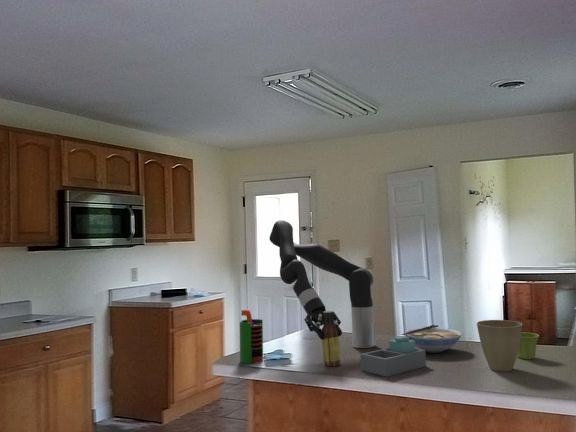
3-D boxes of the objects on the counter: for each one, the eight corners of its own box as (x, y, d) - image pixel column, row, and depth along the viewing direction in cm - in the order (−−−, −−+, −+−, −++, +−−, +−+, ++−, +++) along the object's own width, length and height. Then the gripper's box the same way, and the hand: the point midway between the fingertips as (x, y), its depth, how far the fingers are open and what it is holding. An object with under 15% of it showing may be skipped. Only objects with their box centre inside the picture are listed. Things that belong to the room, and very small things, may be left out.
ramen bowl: (440, 360, 207) (439, 338, 207) (391, 352, 224) (391, 332, 225) (475, 349, 224) (474, 329, 224) (427, 342, 241) (426, 323, 241)
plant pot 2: (540, 355, 209) (539, 332, 210) (540, 361, 201) (538, 337, 201) (513, 354, 213) (512, 331, 214) (512, 359, 205) (511, 336, 205)
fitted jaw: (400, 359, 205) (400, 335, 206) (415, 363, 200) (414, 337, 200) (390, 362, 202) (389, 337, 202) (404, 365, 196) (403, 339, 196)
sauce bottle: (342, 363, 208) (340, 310, 209) (338, 367, 202) (336, 312, 203) (325, 362, 210) (323, 310, 211) (320, 366, 204) (319, 312, 205)
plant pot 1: (469, 368, 194) (467, 322, 195) (498, 362, 202) (496, 318, 202) (504, 376, 181) (502, 328, 182) (533, 370, 189) (531, 323, 189)
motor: (259, 364, 211) (257, 311, 211) (237, 363, 213) (235, 311, 213) (265, 358, 221) (264, 308, 221) (244, 357, 222) (242, 308, 223)
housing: (400, 360, 209) (399, 345, 209) (425, 366, 199) (425, 349, 199) (361, 370, 196) (360, 354, 196) (386, 376, 186) (385, 359, 187)
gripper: (321, 307, 222) (341, 340, 212) (293, 311, 213) (313, 345, 204) (329, 295, 218) (350, 328, 208) (301, 298, 209) (322, 333, 200)
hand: (332, 336), depth 206 cm, fingers open, 8 cm apart
